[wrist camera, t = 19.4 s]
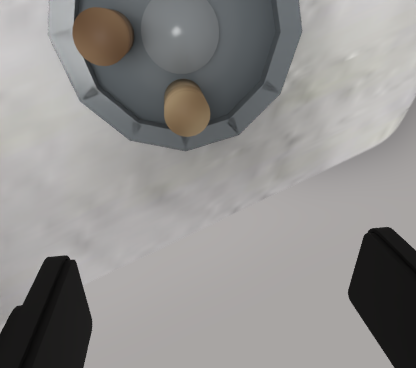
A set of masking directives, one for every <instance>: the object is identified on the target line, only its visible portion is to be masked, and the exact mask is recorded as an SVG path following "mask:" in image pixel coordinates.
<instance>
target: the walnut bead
mask: <svg viewBox="0 0 416 368" xmlns="http://www.w3.org/2000/svg"><path fill="white" fill-rule="evenodd" d="M72 35H73V41H74V44H75V46H76V48H77V50H78V51H79V53H80V54H81V55H82V56H83V57H84V58H85V59H86V60H87V61H89V62H91V63H93V64H95V65H99V66H109V65H113V64H115V63H117V62H118V61H120V60H121V59H122V58H123V57H124V56H125V55H126V54H127V53H128V52H129V51H130V49H131V48H132V46H133V43H134V30H133V27H132V25H131V23H130V21H129V20H128V19H127V17H126V16H124V15H123V14H122V13H120V12H118V11H116V10H112V9H106V8H100V7H92V8H88V9H86V10H84V11H82V12H81V13H80V14H79V15H78V16H77V18H76V19H75V21H74V24H73V29H72Z"/></svg>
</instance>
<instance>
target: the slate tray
mask: <svg viewBox="0 0 416 368" xmlns="http://www.w3.org/2000/svg"><path fill="white" fill-rule="evenodd" d="M92 7H100V8H106V9H112V10H116V11H118V12H120V13H122V14H123V15H124V16H126V17H127V19H128V20H129V21H130V23H131V25H132V27H133V30H134V43H133V46H132V48H131V49H130V51H129V52H128V53H127V54H126V55H125V56H124V57H123V58H122V59H121V60H120V61H118V62H117V63H115V64H113V65H109V66H99V65H95V64H93V63H91V62H89V61H87V60H86V59H85V58H84V57H83V56H82V55H81V54H80V53H79V51H78V50H77V48H76V46H75V44H74V41H73V35H72V29H73V24H74V21H75V19H76V18H77V16H78V15H79V14H80V13H81V12H82V11H84V10H86V9H88V8H92ZM301 33H302V26H301V16H300V7H299V0H49V13H48V36H49V38H50V40H51V43H52V45H53V47H54V49H55V51H56V53H57V55H58V57H59V59H60V61H61V63H62V65H63V67H64V69H65V71H66V74H67V76H68V78H69V80H70V82H71V84H72V86H73V88H74V90H75V92H76V94H77V96H78V98H79V100H80V102H81V103H83V104H84V105H85V106H87V107H88V108H89V109H90V110H92V111H93V112H94V113H96V114H97V115H98V116H99V117H101V118H102V119H103V120H105V121H106V122H107V123H108V124H110V125H111V126H112V127H113V128H115V129H116V130H117V131H119V132H120V133H121V134H122V135H124V136H125V137H126V138H128V139H129V140H130V141H135V142H141V143H146V144H151V145H156V146H161V147H167V148H172V149H177V150H182V151H188V150H191V149H195V148H198V147H201V146H204V145H208V144H211V143H214V142H217V141H221V140H224V139H227V138H230V137H234V136H237V135H239V134H240V133H241V132H242V131H243V130H244V129H245V128H246V127H247V126H248V125H249V124H250V123H251V122H252V121H253V120H254V119H255V118H256V117H257V116H258V115H259V114H260V113H261V112H262V111H263V110H264V109H265V108H266V107H267V106H268V105H269V104H270V103H271V102H272V101H274V100H275V99H276V98H277V97H278V96H279V95H280V93H281V90H282V87H283V85H284V82H285V79H286V76H287V73H288V70H289V67H290V65H291V62H292V59H293V56H294V53H295V50H296V48H297V45H298V42H299V39H300V36H301ZM178 79H189V80H191V81H193V82H195V83H196V84H197V85H198V86H199V88H200V89H201V91H202V93H203V95H204V97H205V99H206V101H207V103H208V105H209V108H210V120H209V123H208V125H207V126H206V128H205V129H204V130H203V131H202V132H201V133H199V134H197V135H195V136H190V137H184V136H180V135H177V134H175V133H174V132H172V131H171V130H170V129H169V127H168V126H167V124H166V122H165V118H164V94H165V91H166V89H167V87H168V86H169V85H170V84H171V83H172V82H173V81H175V80H178Z"/></svg>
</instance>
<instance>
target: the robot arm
mask: <svg viewBox="0 0 416 368" xmlns="http://www.w3.org/2000/svg"><path fill="white" fill-rule="evenodd" d="M348 295H349V299H350V301H351V303H352V304H353V305H354V307H355V309H356V310H357V312H358V313H359V315H360V316H361V318H362V319H363V321H364V322H365V324H366V325H367V327H368V328H369V330H370V331H371V333H372V334H373V336H374V337H375V339H376V340H377V342H378V343H379V345H380V346H381V348H382V349H383V351H384V353H385V354H386V355H387V357H388V359H389V360H390V362H391V363H392V365H393V366H394V368H416V251H415V249H414V248H412V247H411V246H410V245H409V244H408V243H407V242H406V241H405V240H404V239H403V238H402V237H400V236H399V235H398V234H397V233H396V232H395V231H394V230H393V229H391V228H389V227H383V228H372V229H370V230H369V231H368V233H367V234H365V235H364V238H363V241H362V244H361V248H360V251H359V255H358V258H357V262H356V265H355V269H354V272H353V275H352V279H351V283H350V286H349V289H348ZM91 331H92V318H91V314H90V311H89V307H88V303H87V300H86V296H85V292H84V289H83V285H82V282H81V278H80V274H79V271H78V267H77V263H76V261H75V260H70V258H69V257H68V256H55V257H47V258H46V259H45V260H44V262H43V264H42V266H41V268H40V270H39V272H38V274H37V276H36V279H35V281H34V283H33V285H32V287H31V289H30V291H29V293H28V295H27V297H26V299H25V301H24V303H23V305H21V306H17V307H16V308H14V309H13V311H12V312H11V314H10V316H9V318H8V320H7V322H6V324H5V326H4V328H3V329H2V331H1V333H0V368H83V367H84V362H85V358H86V353H87V349H88V344H89V340H90V336H91Z"/></svg>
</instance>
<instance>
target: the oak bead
mask: <svg viewBox="0 0 416 368" xmlns="http://www.w3.org/2000/svg"><path fill="white" fill-rule="evenodd" d="M164 118H165V122H166V124H167V126H168V127H169V129H170V130H171V131H172V132H174V133H175V134H177V135H180V136H184V137H190V136H195V135H197V134H199V133H201V132H202V131H203V130H204V129H205V128H206V126H207V125H208V123H209V120H210V108H209V105H208V103H207V101H206V99H205V97H204V95H203V93H202V91H201V89H200V88H199V86H198V85H197V84H196V83H195V82H193V81H191V80H189V79H178V80H175V81H173V82H172V83H171V84H170V85H169V86H168V87H167V89H166V91H165V94H164Z"/></svg>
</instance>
